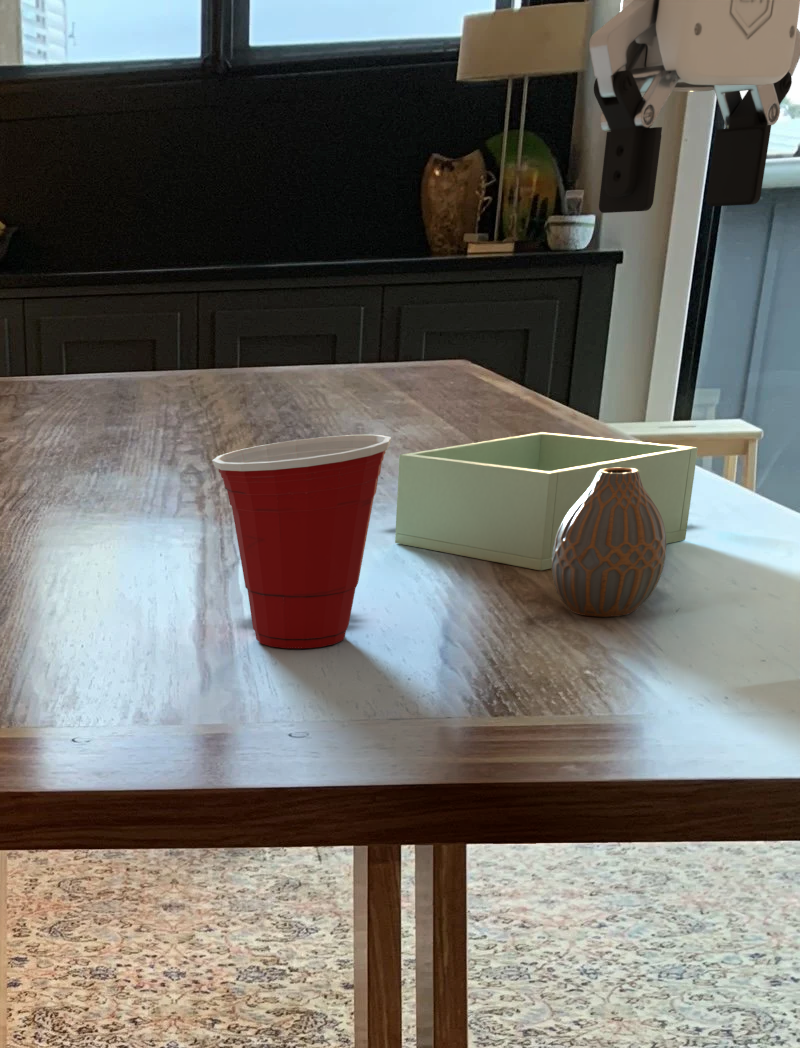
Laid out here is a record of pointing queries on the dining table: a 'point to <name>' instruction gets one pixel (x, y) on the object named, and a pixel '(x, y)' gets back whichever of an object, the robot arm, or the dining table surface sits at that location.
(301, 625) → the plastic cup
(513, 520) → the tub
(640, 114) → the robot arm
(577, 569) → the vase
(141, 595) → the dining table surface
